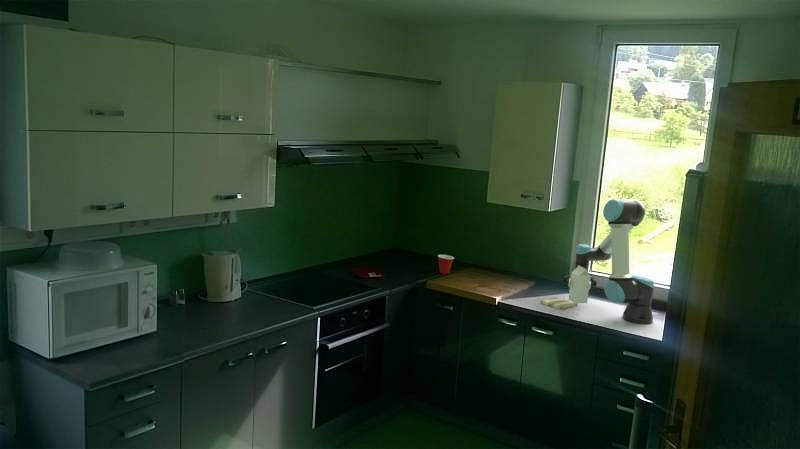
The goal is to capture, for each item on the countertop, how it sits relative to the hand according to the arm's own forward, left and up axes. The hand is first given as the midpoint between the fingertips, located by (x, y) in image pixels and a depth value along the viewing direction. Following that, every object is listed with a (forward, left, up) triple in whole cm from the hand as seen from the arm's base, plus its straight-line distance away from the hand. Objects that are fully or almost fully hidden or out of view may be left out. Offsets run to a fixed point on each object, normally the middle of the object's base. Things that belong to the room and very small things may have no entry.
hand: (579, 285), depth 330 cm
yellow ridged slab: (+20, -15, -18) cm, 31 cm away
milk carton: (+2, -4, -10) cm, 11 cm away
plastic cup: (+103, -9, -19) cm, 105 cm away
